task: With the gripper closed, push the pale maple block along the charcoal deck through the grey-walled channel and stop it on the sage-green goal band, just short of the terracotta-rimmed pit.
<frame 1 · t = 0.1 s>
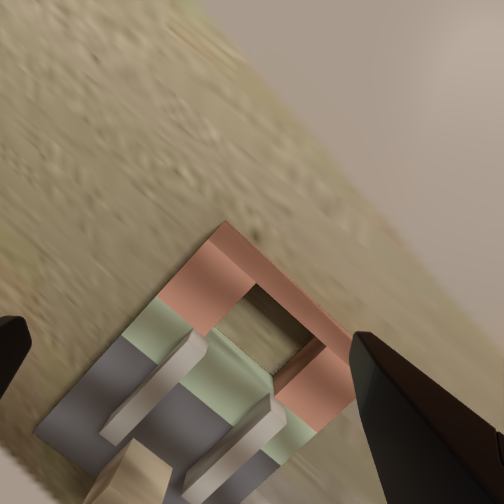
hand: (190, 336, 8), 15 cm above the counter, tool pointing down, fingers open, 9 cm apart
maple block: (137, 469, 24), point 2 cm above the counter, touching channel deck
channel deck: (208, 382, 26), on the counter
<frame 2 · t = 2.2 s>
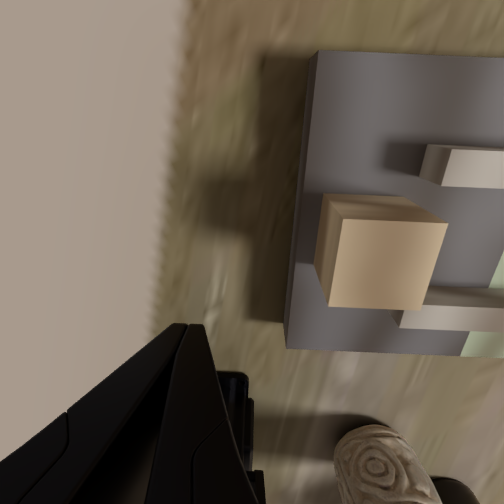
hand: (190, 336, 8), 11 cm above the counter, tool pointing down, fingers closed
maple block: (356, 232, 16), point 2 cm above the counter, touching channel deck
channel deck: (477, 223, 18), on the counter
supplement bottle: (434, 494, 30), on the counter
carving: (368, 437, 27), on the counter
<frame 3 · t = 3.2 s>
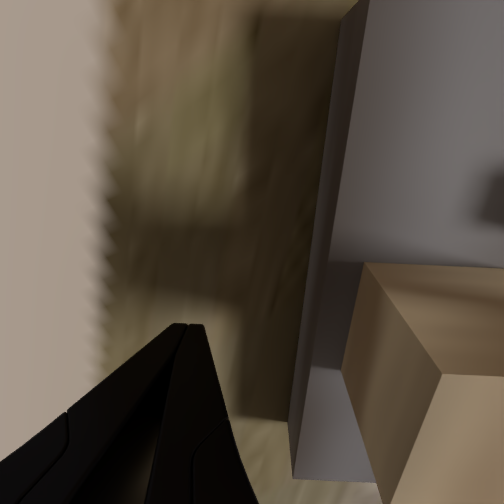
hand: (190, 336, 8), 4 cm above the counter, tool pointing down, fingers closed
maple block: (417, 324, 9), point 2 cm above the counter, touching channel deck
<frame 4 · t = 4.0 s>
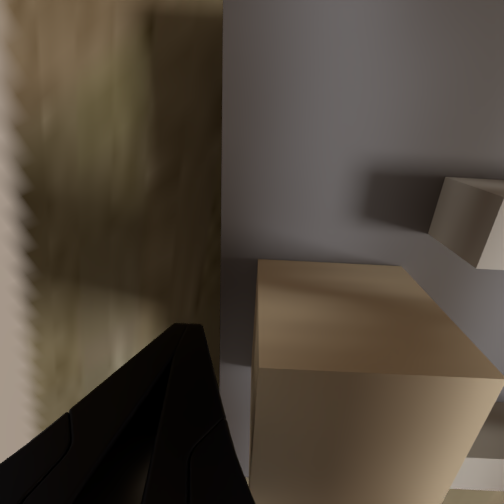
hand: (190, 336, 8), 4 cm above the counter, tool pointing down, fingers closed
maple block: (319, 321, 9), point 3 cm above the counter, touching gripper
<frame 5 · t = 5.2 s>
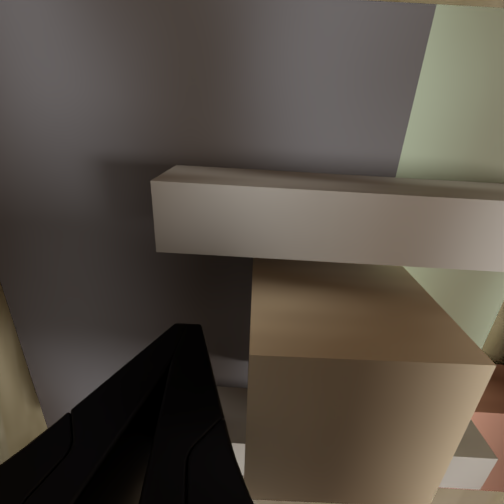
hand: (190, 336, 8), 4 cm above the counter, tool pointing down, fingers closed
maple block: (315, 315, 9), point 3 cm above the counter, touching gripper
channel deck: (341, 283, 12), on the counter
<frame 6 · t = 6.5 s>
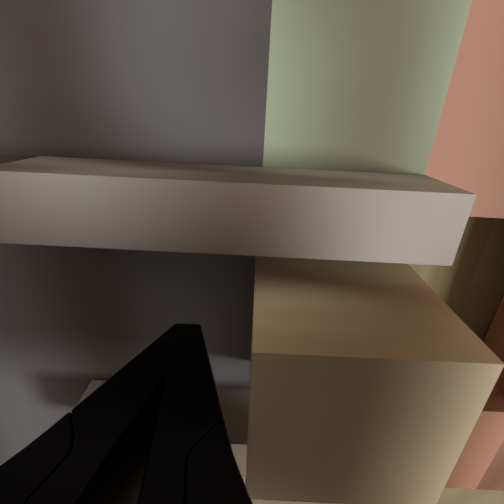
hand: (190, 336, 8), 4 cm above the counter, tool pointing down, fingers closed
maple block: (318, 313, 9), point 2 cm above the counter, touching channel deck, gripper
channel deck: (255, 277, 12), on the counter
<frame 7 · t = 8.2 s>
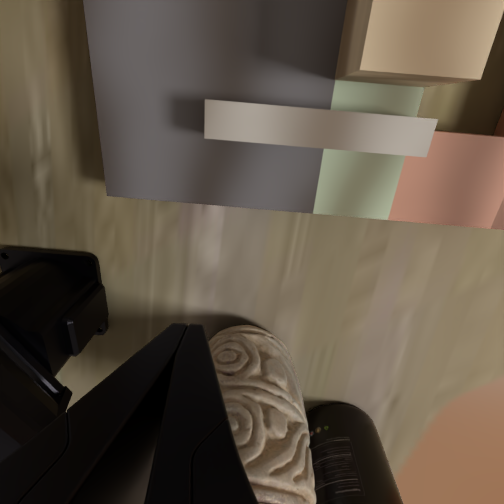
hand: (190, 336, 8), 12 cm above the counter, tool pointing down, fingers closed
maple block: (390, 29, 13), point 2 cm above the counter, touching channel deck
channel deck: (331, 44, 15), on the counter
supplement bottle: (334, 425, 27), on the counter
carving: (250, 347, 24), on the counter
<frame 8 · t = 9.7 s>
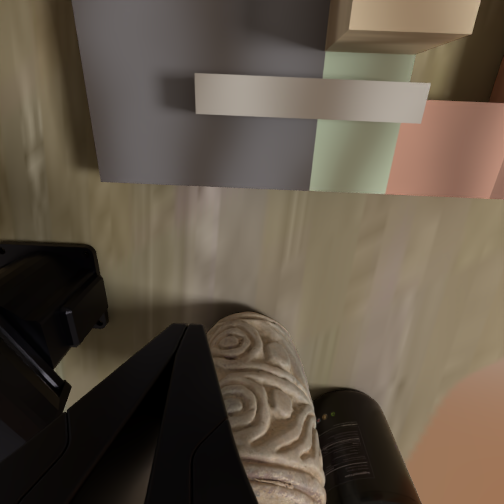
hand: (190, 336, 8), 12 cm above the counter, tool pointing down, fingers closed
channel deck: (320, 18, 15), on the counter
supplement bottle: (340, 412, 27), on the counter
carving: (253, 335, 24), on the counter
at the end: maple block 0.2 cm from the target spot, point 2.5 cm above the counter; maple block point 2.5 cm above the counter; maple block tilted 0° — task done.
